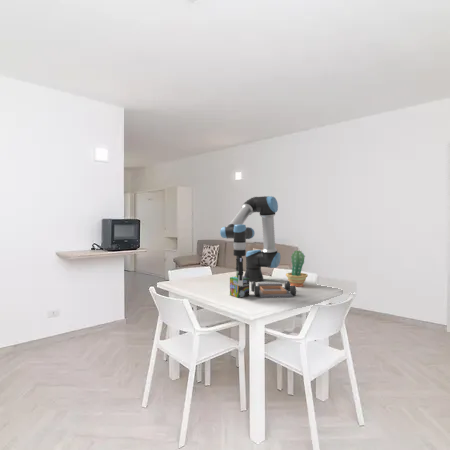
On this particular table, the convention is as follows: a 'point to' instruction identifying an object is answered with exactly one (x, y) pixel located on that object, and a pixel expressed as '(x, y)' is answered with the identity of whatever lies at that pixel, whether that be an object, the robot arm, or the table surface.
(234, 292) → the chalk box
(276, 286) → the chassis
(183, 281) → the table surface
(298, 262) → the potted cactus
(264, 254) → the robot arm
